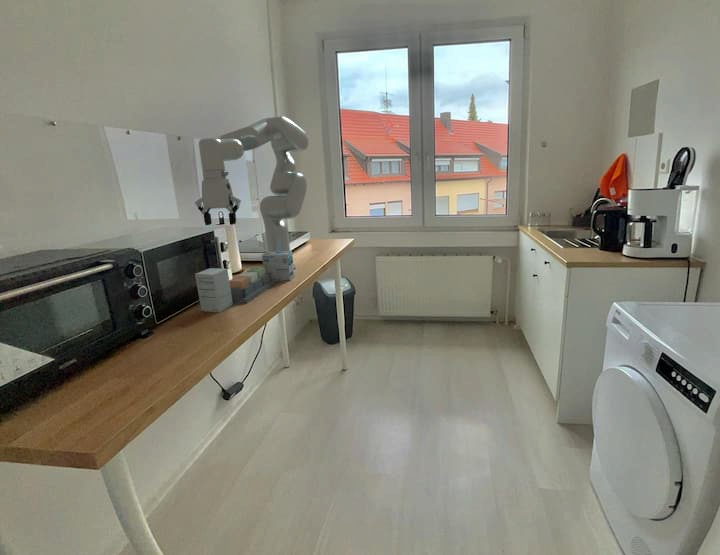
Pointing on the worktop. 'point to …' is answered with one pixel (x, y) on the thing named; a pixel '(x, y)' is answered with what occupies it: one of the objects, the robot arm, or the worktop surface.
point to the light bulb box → (279, 265)
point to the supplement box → (214, 289)
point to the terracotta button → (239, 282)
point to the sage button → (258, 271)
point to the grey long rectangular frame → (252, 289)
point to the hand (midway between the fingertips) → (220, 224)
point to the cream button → (250, 276)
